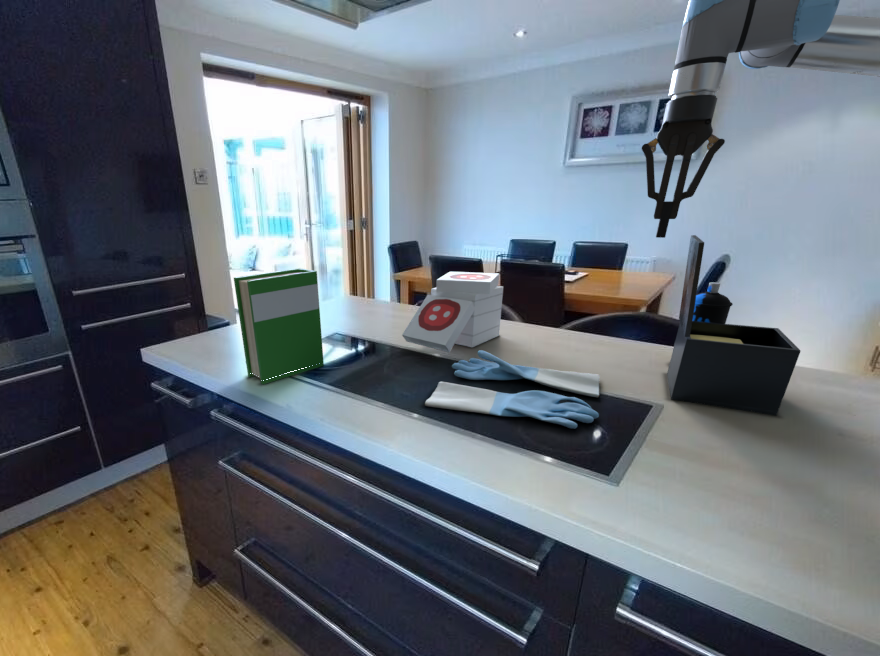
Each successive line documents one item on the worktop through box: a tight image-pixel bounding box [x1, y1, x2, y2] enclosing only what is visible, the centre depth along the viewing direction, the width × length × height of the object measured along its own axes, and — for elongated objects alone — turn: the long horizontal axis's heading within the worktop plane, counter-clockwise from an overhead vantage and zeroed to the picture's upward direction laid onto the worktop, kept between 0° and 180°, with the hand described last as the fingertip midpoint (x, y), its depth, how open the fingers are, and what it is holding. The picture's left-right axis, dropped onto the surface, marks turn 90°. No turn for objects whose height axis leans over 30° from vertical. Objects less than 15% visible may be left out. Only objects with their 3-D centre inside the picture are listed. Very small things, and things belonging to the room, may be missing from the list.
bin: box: [666, 321, 802, 416], centre depth 89 cm, size 17×16×13 cm
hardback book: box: [233, 267, 325, 385], centre depth 106 cm, size 18×7×24 cm, turn 131°
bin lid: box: [678, 234, 705, 337], centre depth 88 cm, size 17×16×1 cm
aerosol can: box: [692, 281, 733, 324], centre depth 101 cm, size 8×8×20 cm
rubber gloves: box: [424, 349, 601, 430], centre depth 93 cm, size 27×33×6 cm
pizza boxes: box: [401, 271, 504, 353], centre depth 126 cm, size 19×30×18 cm, turn 135°
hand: (660, 236), depth 87 cm, fingers closed
